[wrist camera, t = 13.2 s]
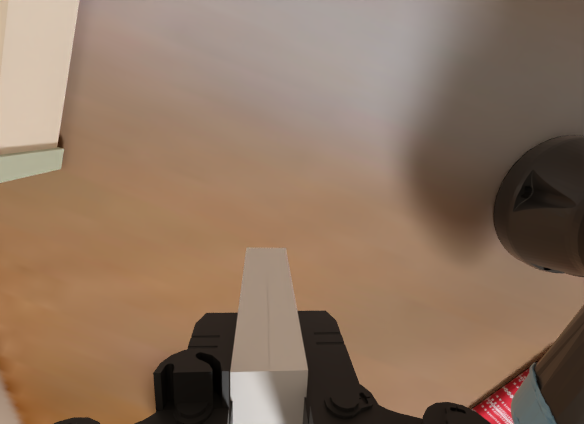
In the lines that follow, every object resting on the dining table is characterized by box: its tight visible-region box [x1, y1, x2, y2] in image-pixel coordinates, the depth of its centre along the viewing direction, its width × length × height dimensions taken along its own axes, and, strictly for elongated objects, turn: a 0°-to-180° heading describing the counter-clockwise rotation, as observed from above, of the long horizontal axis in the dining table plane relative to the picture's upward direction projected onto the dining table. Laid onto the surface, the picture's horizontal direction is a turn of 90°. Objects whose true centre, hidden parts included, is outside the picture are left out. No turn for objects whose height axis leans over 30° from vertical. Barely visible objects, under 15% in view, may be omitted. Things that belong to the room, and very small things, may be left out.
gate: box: [0, 0, 79, 183], centre depth 23 cm, size 25×3×12 cm, turn 162°
